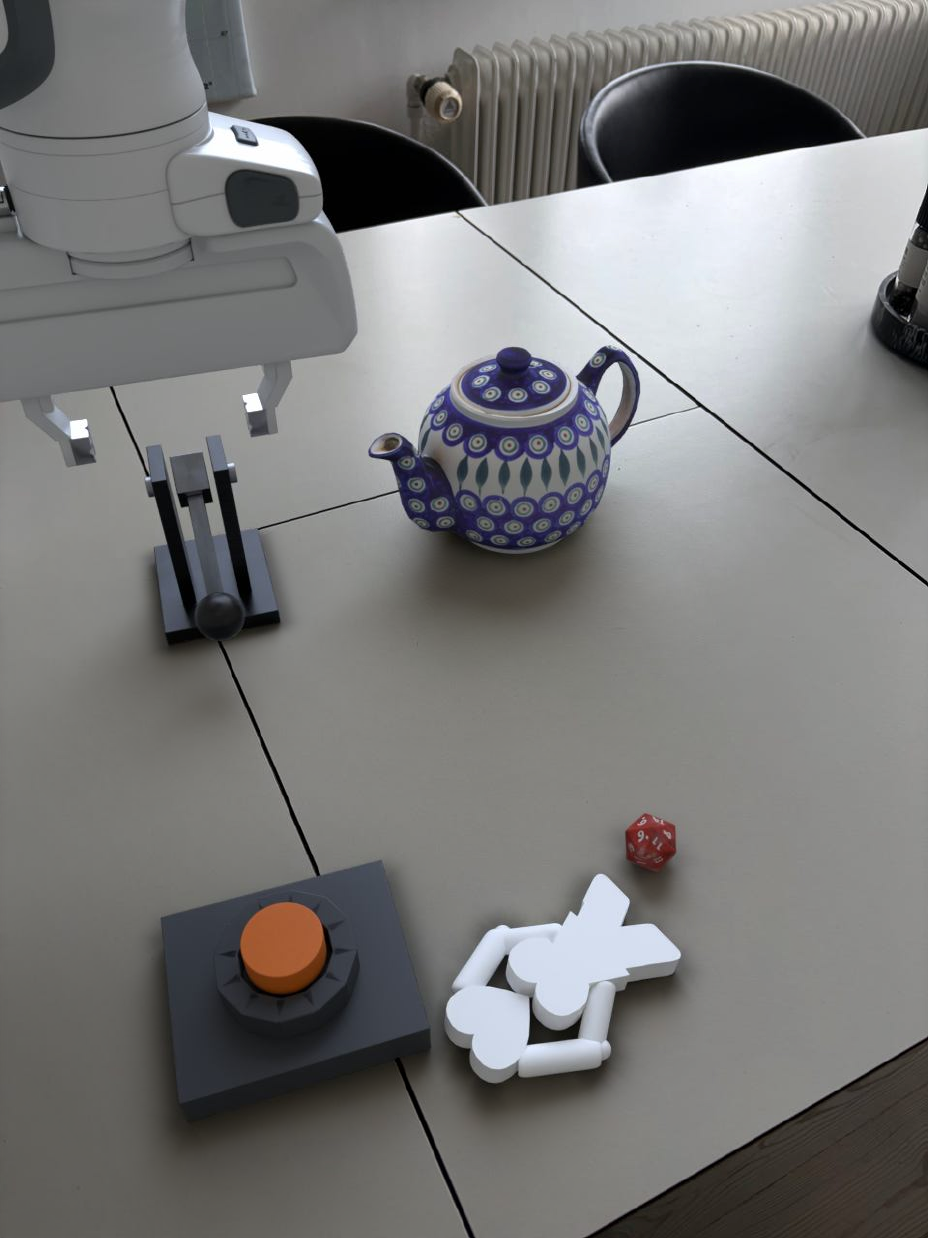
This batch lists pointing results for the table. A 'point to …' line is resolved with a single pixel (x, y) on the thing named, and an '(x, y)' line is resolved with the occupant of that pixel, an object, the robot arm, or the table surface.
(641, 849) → the die
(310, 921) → the button
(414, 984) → the control block
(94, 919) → the table surface
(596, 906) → the white abstract figurine
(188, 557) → the bracket
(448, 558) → the table surface
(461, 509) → the teapot
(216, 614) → the lever
